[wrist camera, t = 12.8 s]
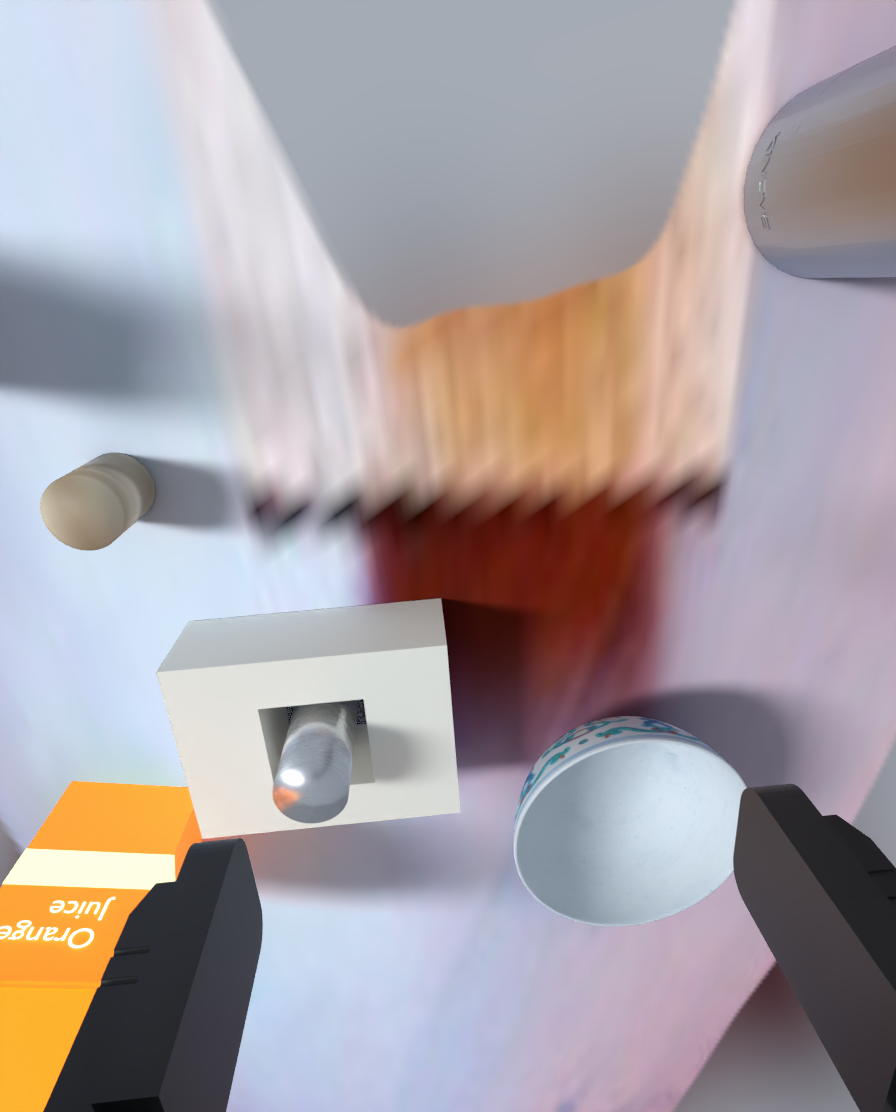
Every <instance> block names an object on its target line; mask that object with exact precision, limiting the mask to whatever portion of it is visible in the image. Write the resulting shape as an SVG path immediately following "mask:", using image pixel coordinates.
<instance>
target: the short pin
mask: <svg viewBox="0 0 896 1112" xmlns="http://www.w3.org/2000/svg"><path fill="white" fill-rule="evenodd" d="M155 498H156V485H155V481H154V478H153V476H152V474H151V473H150V471H149V470H148V469H147V467H146V466H145V465H144V464H143V463H141V462H140V461H139V460H137V459H135V458H134V457H132V456H129V455H126V454H122V453H107V454H103V455H101V456H99V457H97V458H95V459H93V460H91V461H90V462H88V463H86V464H84V465H82V466H81V467H79V468H77V469H75V470H73V471H72V472H70V473H68V474H66V475H65V476H63V477H61V478H59V479H57V480H56V481H54V482H53V483H51V484H50V485H49V486H48V487H47V488H46V490H45V491H44V493H43V495H42V498H41V503H40V510H41V515H42V519H43V521H44V523H45V525H46V527H47V528H48V530H49V531H50V532H51V533H52V535H53V536H55V537H56V538H57V539H58V540H59V541H61V542H62V543H64V544H66V545H68V546H70V547H72V548H76V549H80V550H98V549H101V548H104V547H106V546H108V545H110V544H111V543H112V542H113V541H115V540H116V539H117V538H118V537H119V536H120V535H121V534H123V533H124V532H125V531H126V530H127V529H128V528H129V527H130V526H132V525H133V524H134V523H135V522H136V521H137V520H138V519H140V518H141V517H142V516H143V515H144V514H145V513H146V512H148V511H149V509H150V508H151V507H152V505H153V503H154V501H155Z"/></svg>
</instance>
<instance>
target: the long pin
mask: <svg viewBox="0 0 896 1112" xmlns="http://www.w3.org/2000/svg"><path fill="white" fill-rule="evenodd" d="M358 704H359V700H350V701H339V702H329V703H319V704H308V705H298V706H294V709H293V713H292V717H291V720H290V724H289V728H288V732H287V736H286V739H285V743H284V747H283V751H282V755H281V759H280V762H279V766H278V770H277V774H276V778H275V781H274V785H273V790H272V795H273V800H274V803H275V805H276V807H277V808H278V809H279V810H280V812H281V813H283V814H284V815H285V816H287V817H288V818H290V819H292V820H295V821H297V822H301V823H311V824H312V823H321V822H325V821H328V820H330V819H332V818H334V817H336V816H337V815H338V814H339V813H341V812H342V810H343V809H344V808H345V806H346V804H347V802H348V797H349V788H350V779H351V769H352V760H353V751H354V741H355V732H356V723H357V714H358Z"/></svg>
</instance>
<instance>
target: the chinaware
mask: <svg viewBox="0 0 896 1112" xmlns="http://www.w3.org/2000/svg"><path fill="white" fill-rule="evenodd" d="M745 789H747V786H746V785H745V783H744V781H743V779H742V778H741V776H740V775H739V774H738V773H737V771H736V770H735V769H734V768H733V767H732V766H731V765H730V764H729V763H728V762H727V761H726V760H725V759H724V758H723V757H722V756H721V755H720V754H718V753H717V752H716V751H715V750H714V749H712V748H711V747H710V746H708V745H707V744H706V743H704V742H703V741H701V740H700V739H698V738H697V737H695V736H693V735H692V734H690V733H688V732H686V731H684V730H682V729H680V728H678V727H676V726H673V725H671V724H668V723H665V722H662V721H659V720H655V719H650V718H645V717H636V716H616V717H608V718H602V719H598V720H594V721H591V722H588V723H586V724H583V725H581V726H579V727H577V728H575V729H573V730H571V731H569V732H568V733H566V734H565V735H563V736H562V737H560V738H559V739H558V740H556V741H555V742H554V743H553V744H552V745H551V746H550V747H549V748H548V749H547V750H546V751H545V752H544V753H543V754H542V755H541V757H540V758H539V759H538V761H537V762H536V763H535V765H534V767H533V768H532V770H531V772H530V773H529V775H528V777H527V779H526V782H525V784H524V786H523V789H522V792H521V795H520V798H519V802H518V806H517V811H516V816H515V824H514V839H513V848H514V858H515V863H516V867H517V870H518V873H519V875H520V878H521V880H522V881H523V883H524V885H525V886H526V888H527V889H528V891H529V892H530V893H531V894H532V895H533V896H534V897H535V898H536V899H537V900H538V901H539V902H540V903H541V904H542V905H544V906H545V907H547V908H548V909H550V910H551V911H553V912H555V913H557V914H558V915H561V916H563V917H565V918H568V919H571V920H574V921H577V922H581V923H585V924H590V925H597V926H631V925H638V924H644V923H648V922H653V921H656V920H660V919H663V918H666V917H669V916H672V915H674V914H676V913H679V912H681V911H683V910H685V909H687V908H689V907H691V906H693V905H694V904H696V903H698V902H699V901H701V900H702V899H704V898H705V897H707V896H708V895H710V894H711V893H712V892H713V891H715V890H716V889H717V888H718V887H719V886H720V885H721V884H722V883H723V882H724V881H725V880H726V879H727V878H728V877H729V876H730V875H731V874H732V872H733V871H734V868H733V854H734V846H735V838H736V830H737V822H738V814H739V806H740V799H741V794H742V792H743V791H744V790H745Z"/></svg>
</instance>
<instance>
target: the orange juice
mask: <svg viewBox="0 0 896 1112" xmlns="http://www.w3.org/2000/svg"><path fill="white" fill-rule="evenodd" d="M199 842H202V837H201V832H200V829H199V825H198V822H197V818H196V814H195V811H194V807H193V803H192V800H191V796H190V793H189V789H188V787H170V786H152V785H133V784H115V783H96V782H78V781H72V782H71V784H70V785H69V786H68V788H67V789H66V791H65V792H64V794H63V795H62V797H61V798H60V800H59V801H58V803H57V804H56V806H55V807H54V809H53V810H52V812H51V813H50V815H49V816H48V818H47V819H46V821H45V822H44V824H43V825H42V827H41V828H40V830H39V831H38V833H37V834H36V836H35V837H34V839H33V840H32V842H31V843H30V845H29V846H28V848H27V849H25V851H24V852H23V854H22V855H21V857H20V858H19V860H18V861H17V863H16V864H15V866H14V867H13V869H12V870H11V872H10V873H9V875H8V876H7V878H6V879H5V880H4V882H3V885H2V887H1V888H0V1112H43V1110H44V1108H45V1106H46V1104H47V1102H48V1099H49V1097H50V1095H51V1093H52V1090H53V1088H54V1086H55V1083H56V1081H57V1079H58V1076H59V1074H60V1072H61V1070H62V1067H63V1065H64V1063H65V1060H66V1058H67V1056H68V1054H69V1051H70V1049H71V1047H72V1044H73V1042H74V1040H75V1037H76V1035H77V1033H78V1031H79V1028H80V1026H81V1024H82V1021H83V1019H84V1017H85V1015H86V1012H87V1010H88V1008H89V1005H90V1003H91V1001H92V999H93V996H94V994H95V992H96V989H97V987H100V985H101V978H102V976H103V973H104V971H105V969H106V966H107V964H108V962H109V960H110V957H113V955H114V948H115V946H116V943H117V941H118V939H119V937H120V934H121V932H122V930H123V927H124V925H125V923H126V921H127V918H128V916H129V914H130V913H131V912H132V911H133V909H134V908H135V907H136V906H137V905H138V904H139V902H140V901H141V900H142V899H143V898H144V897H145V895H146V894H147V893H148V892H149V891H150V890H151V888H152V887H153V886H154V885H155V884H156V883H164V882H174V881H176V880H177V877H178V874H179V872H180V869H181V866H182V864H183V861H184V859H185V856H186V853H187V851H188V849H189V847H190V846H191V845H192V844H193V843H199Z"/></svg>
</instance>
